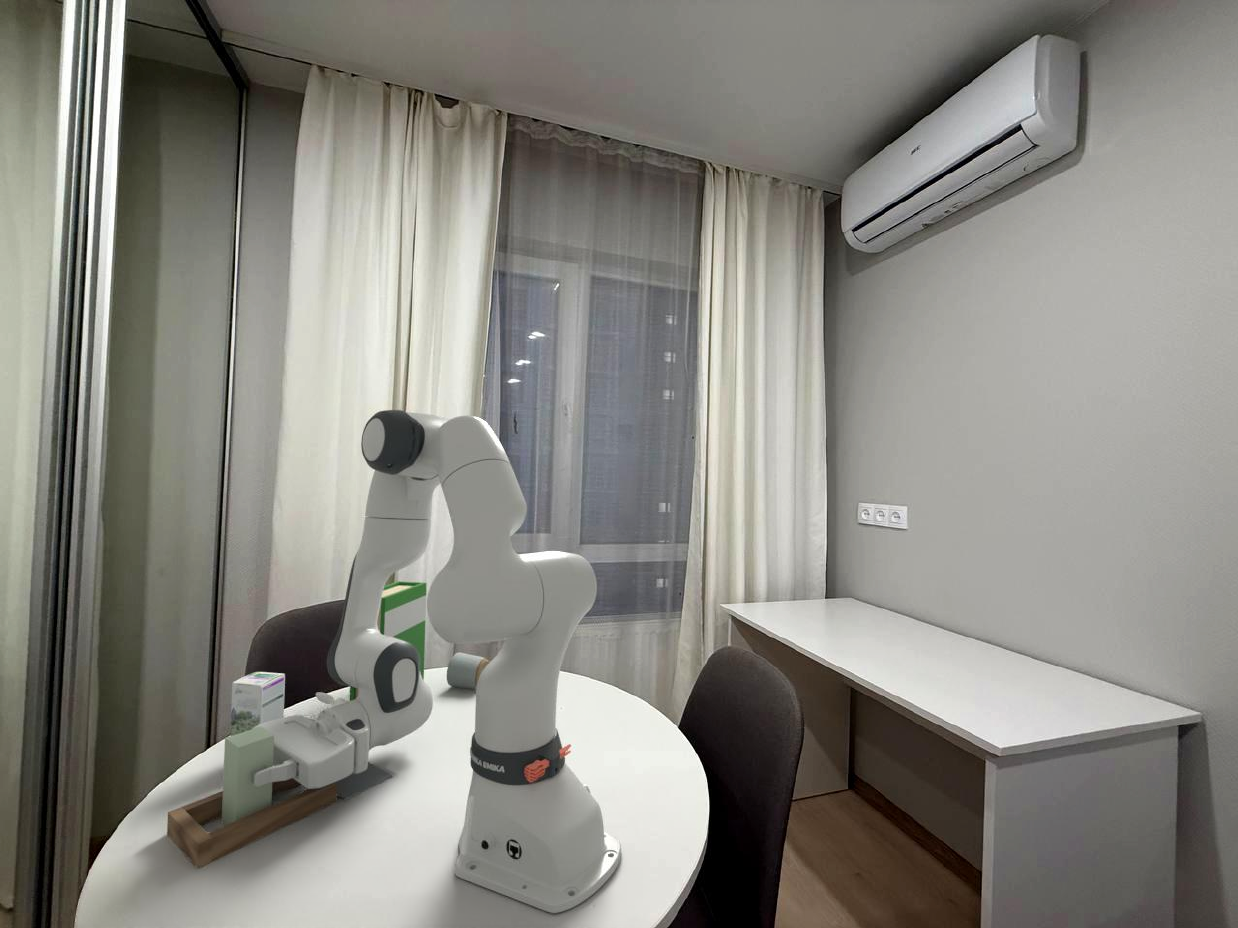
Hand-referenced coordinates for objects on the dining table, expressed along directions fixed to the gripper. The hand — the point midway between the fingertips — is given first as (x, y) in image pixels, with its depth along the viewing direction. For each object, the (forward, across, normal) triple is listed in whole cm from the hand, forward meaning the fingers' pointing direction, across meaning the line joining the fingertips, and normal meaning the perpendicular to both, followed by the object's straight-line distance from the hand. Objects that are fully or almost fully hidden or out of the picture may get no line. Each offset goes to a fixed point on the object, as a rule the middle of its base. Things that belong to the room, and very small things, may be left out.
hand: (241, 770), depth 77 cm
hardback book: (-39, -25, +8) cm, 47 cm away
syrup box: (-9, -17, +8) cm, 21 cm away
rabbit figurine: (-25, -23, +8) cm, 35 cm away
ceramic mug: (-54, -16, +8) cm, 57 cm away
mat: (-16, 0, +8) cm, 18 cm away
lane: (-3, 0, +8) cm, 8 cm away
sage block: (-1, 0, +8) cm, 8 cm away
